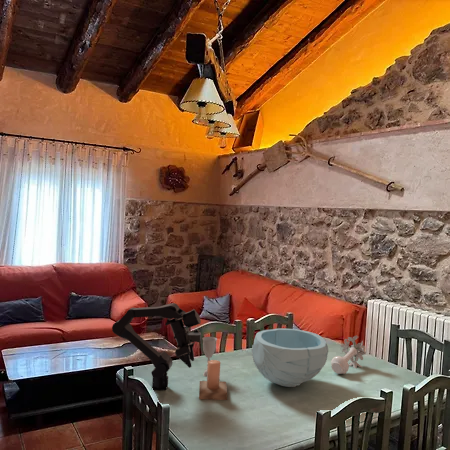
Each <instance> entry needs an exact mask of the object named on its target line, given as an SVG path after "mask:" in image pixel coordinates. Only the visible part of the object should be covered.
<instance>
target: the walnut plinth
mask: <svg viewBox="0 0 450 450" xmlns="http://www.w3.org/2000/svg"><path fill="white" fill-rule="evenodd" d="M198 389H199V391H198V400H213V401H214V400H217V401H218V400H219V401H220V400H221V401H225V400H226V401H227V400H228V388H227V382H226V381H219V388H218V389H209V388H207V380H200V381H199V387H198Z"/></svg>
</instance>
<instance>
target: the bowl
mask: <svg viewBox="0 0 450 450" xmlns="http://www.w3.org/2000/svg"><path fill="white" fill-rule="evenodd" d="M326 341H327V340H326V339H325V338H323V336H321V335H319V334H318V333H315V332H311V331H308V330H302V329H296V328H285V327H284V328H274V329H263V330H261V331H258V332H257V333H256V334H255V337H254V340H253V344H252V345H251V347H252V348H251V356H252V361H253V363H254V365H255V367H256V369H257V370H258V372H259V373H260V375H262V376H263V377H264V378H265V379H266V380H268V381H269V382H271V383H273V384H276V385H279V386H281V387H286V388H296V387H297V386H300V385H301V384H302V383H305V382H308V381H311V380H312V379H313V378H315V377H316V376H317V375H319V374H320V372H321V370H322V369H323V367H325V366H326V363H327V360H328V356H329V355H328V354H329V346H328V344H327V342H326Z"/></svg>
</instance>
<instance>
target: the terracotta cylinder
mask: <svg viewBox="0 0 450 450" xmlns="http://www.w3.org/2000/svg"><path fill="white" fill-rule="evenodd" d="M207 364H208V372H207V377H206V381H207V388H209V389H218V388H219V382H220V381H221V380H220V378H221V377H220V375H221V361H219V360H217V359H216V360H215V359H210V361H208V363H207Z"/></svg>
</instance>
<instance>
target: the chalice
mask: <svg viewBox="0 0 450 450" xmlns="http://www.w3.org/2000/svg"><path fill="white" fill-rule="evenodd" d="M201 340H202V351H203V353H204V355H205V357H206V358H207V361H206V367H207V368H206V369H204V372H203V374H202V376H203V377H205V378H207V372H208V361H210V360H211V358H212V357H213V355H214V354H215V352H216V346H217V345H216V343H217V340H218V338H217V337H214V336H204V337H201Z"/></svg>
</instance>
